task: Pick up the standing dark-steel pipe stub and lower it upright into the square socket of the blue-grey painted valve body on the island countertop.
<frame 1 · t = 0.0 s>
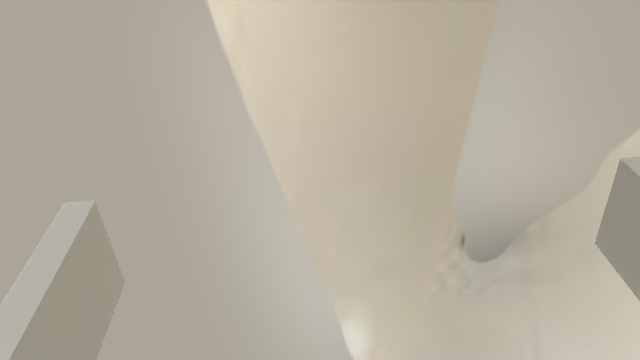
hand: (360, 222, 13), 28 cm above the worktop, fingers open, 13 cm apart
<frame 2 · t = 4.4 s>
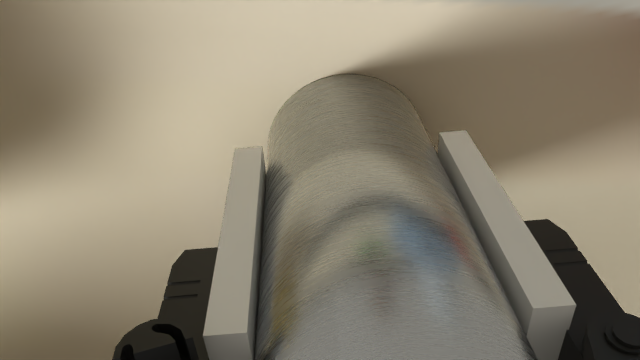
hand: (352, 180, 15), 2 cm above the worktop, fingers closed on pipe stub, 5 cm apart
pipe stub: (345, 147, 17), on the worktop, touching gripper
when the fingers open (6 cm above the worktop, at t = 9.7 s): pipe stub drops 1 cm, resting on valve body.
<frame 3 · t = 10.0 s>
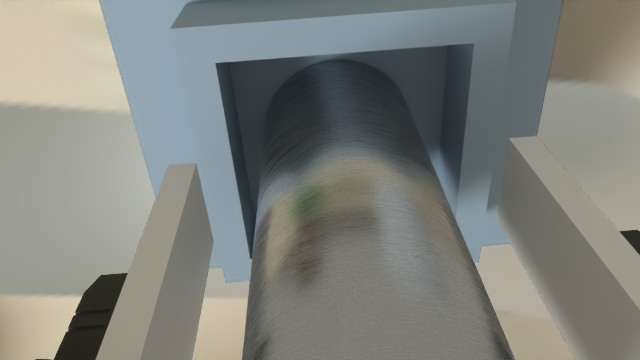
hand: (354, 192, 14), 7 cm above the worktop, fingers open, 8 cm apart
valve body: (334, 92, 20), on the worktop
pipe stub: (337, 128, 18), point 3 cm above the worktop, touching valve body
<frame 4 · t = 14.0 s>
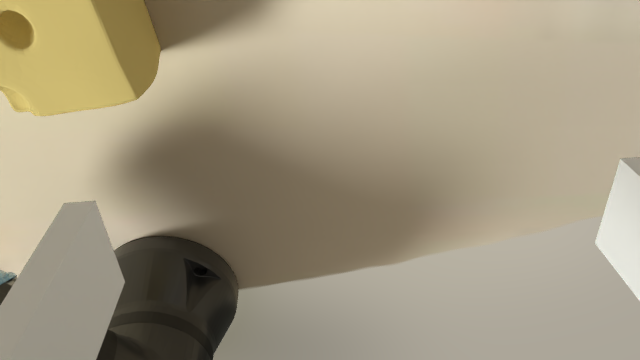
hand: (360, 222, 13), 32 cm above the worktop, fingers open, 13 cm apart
cheese: (84, 1, 40), on the worktop
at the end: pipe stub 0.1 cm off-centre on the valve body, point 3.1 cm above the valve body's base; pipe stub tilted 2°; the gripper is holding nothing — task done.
